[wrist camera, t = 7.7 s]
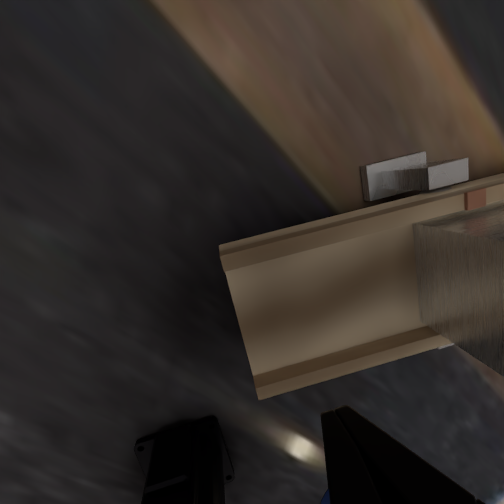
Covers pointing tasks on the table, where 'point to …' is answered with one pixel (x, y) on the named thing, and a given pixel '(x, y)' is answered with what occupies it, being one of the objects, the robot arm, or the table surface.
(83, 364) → the table surface
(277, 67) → the table surface
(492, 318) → the metal block
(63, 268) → the table surface
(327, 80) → the table surface
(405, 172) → the pivot stand
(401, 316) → the oak beam
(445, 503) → the robot arm
